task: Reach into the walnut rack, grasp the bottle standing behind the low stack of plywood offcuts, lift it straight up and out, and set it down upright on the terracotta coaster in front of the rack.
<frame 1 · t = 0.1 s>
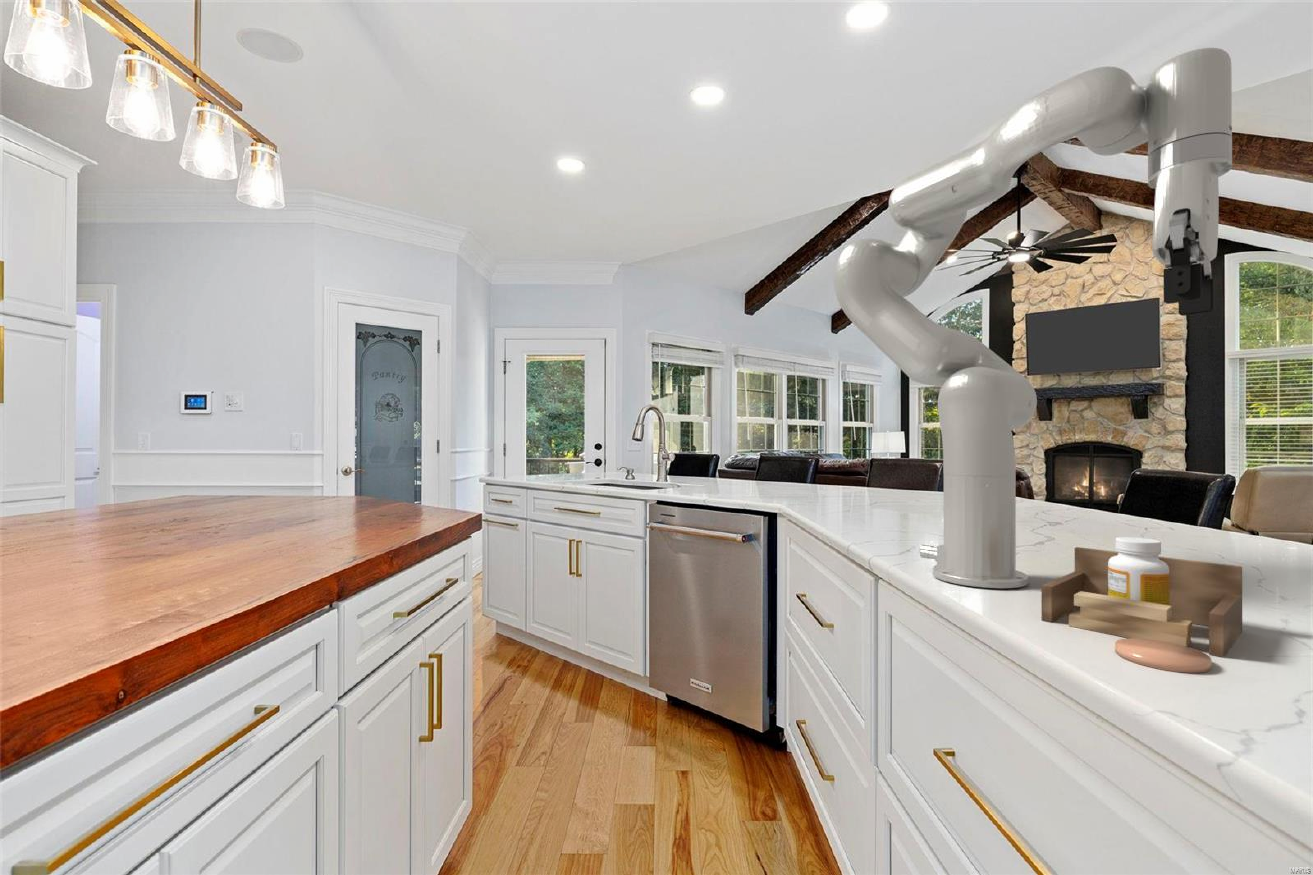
hand: (1189, 307, 72), 37 cm above the worktop, tool pointing down, fingers open, 9 cm apart
supplement bottle: (1138, 628, 68), resting in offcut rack
terracotta coaster: (1161, 658, 57), on the worktop
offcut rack: (1138, 626, 68), on the worktop
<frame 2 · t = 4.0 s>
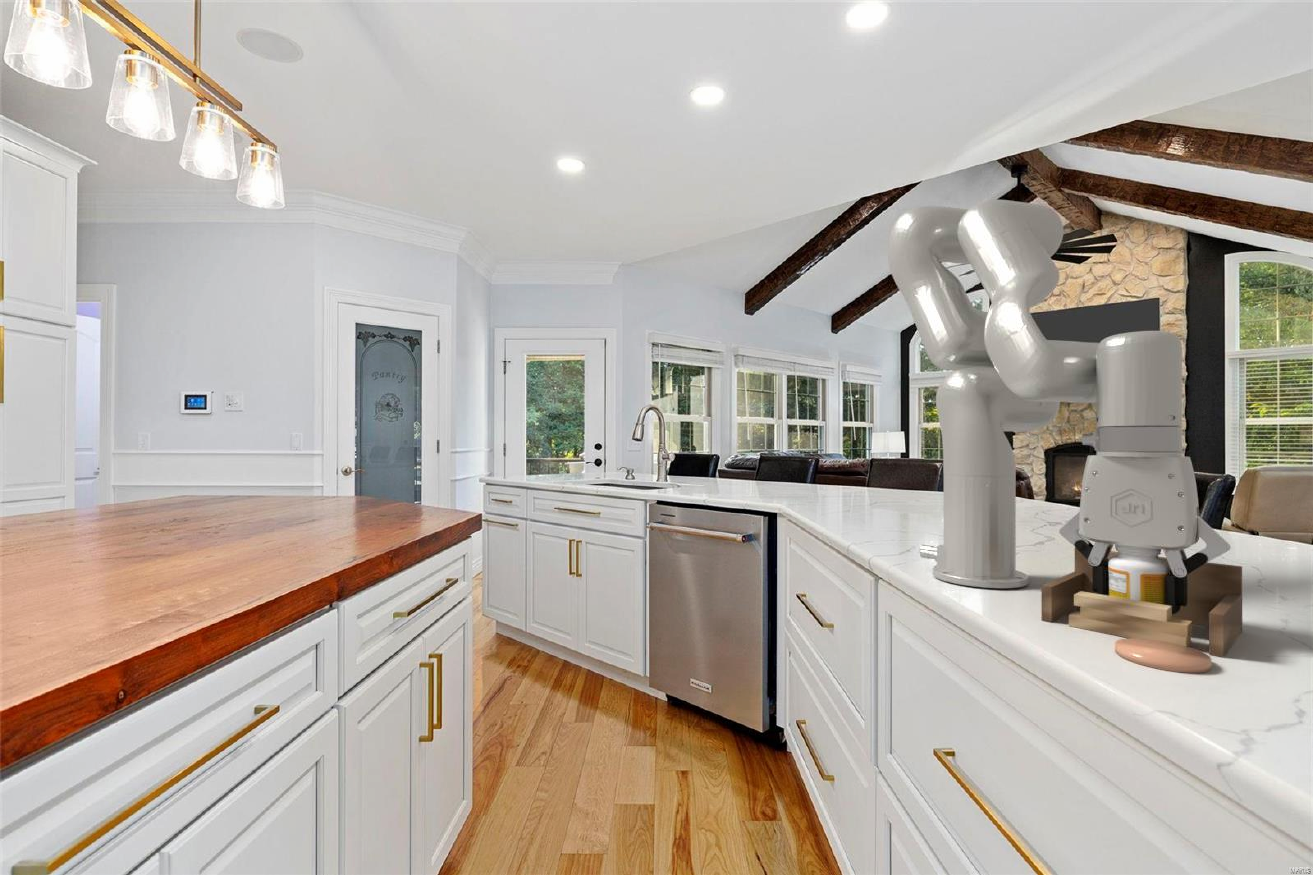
hand: (1138, 603, 68), 3 cm above the worktop, tool pointing down, fingers closed on supplement bottle, 5 cm apart
supplement bottle: (1138, 628, 68), resting in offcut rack, touching gripper
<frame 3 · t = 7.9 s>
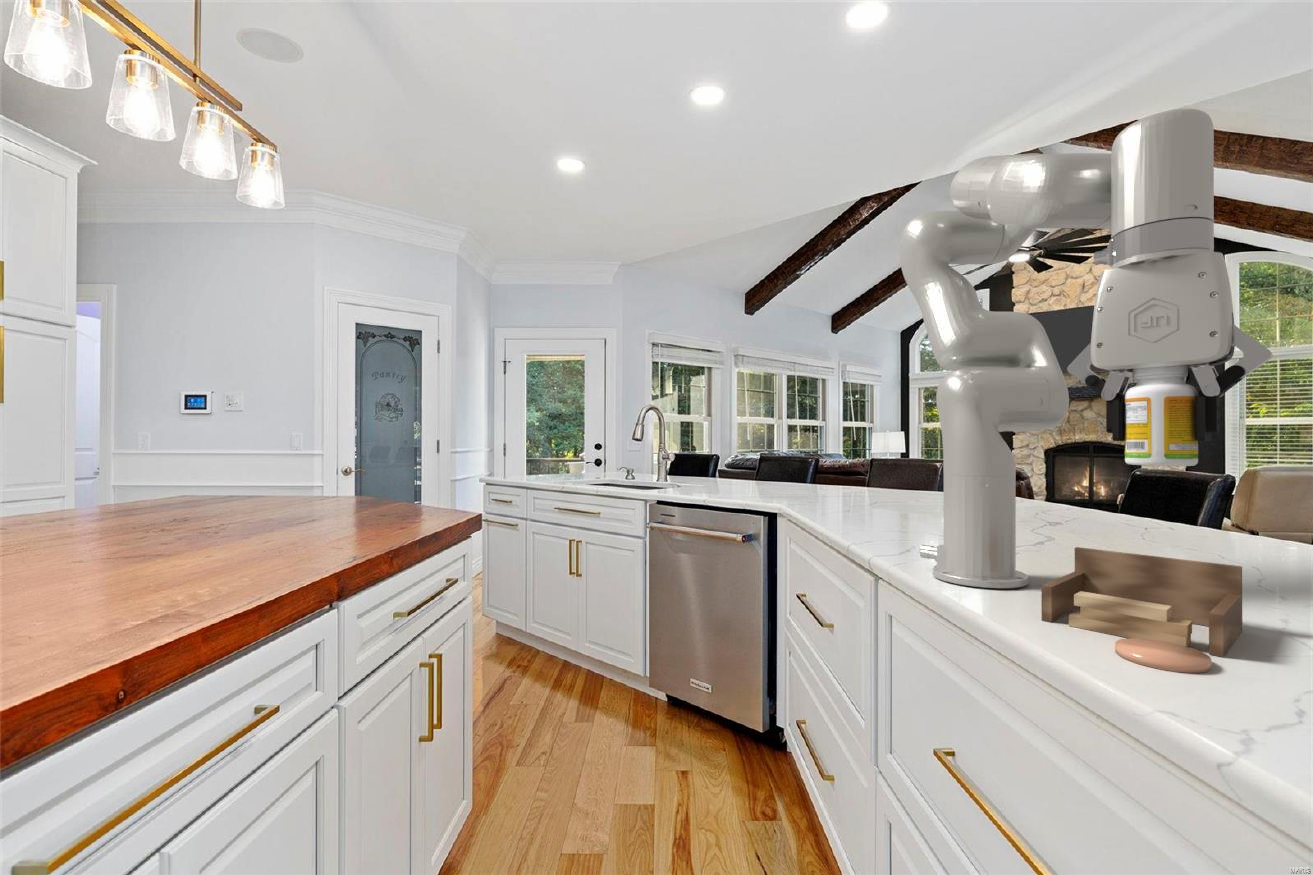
hand: (1160, 439, 58), 21 cm above the worktop, tool pointing down, fingers closed on supplement bottle, 5 cm apart
supplement bottle: (1160, 467, 58), point 18 cm above the worktop, touching gripper
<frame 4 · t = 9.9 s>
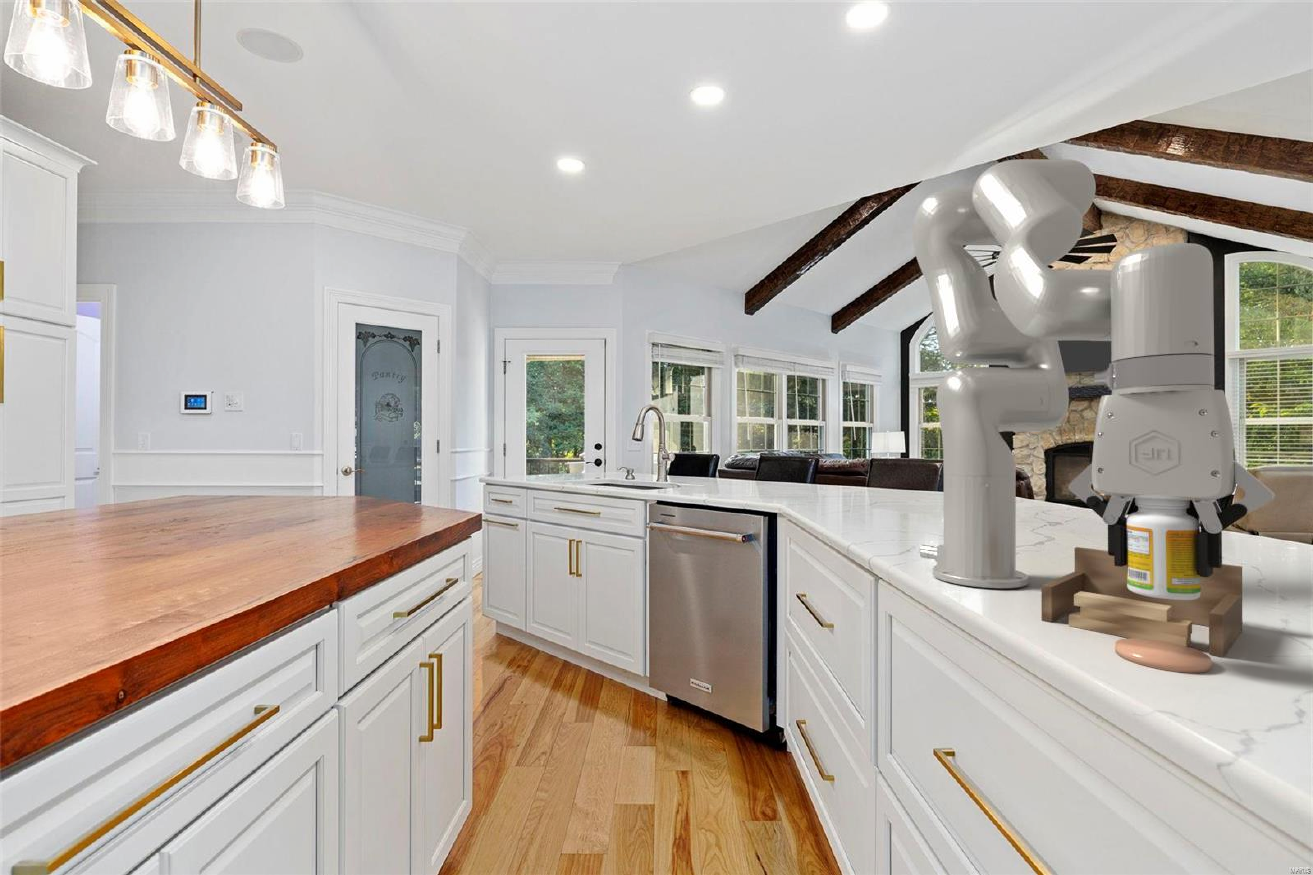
hand: (1162, 567, 57), 9 cm above the worktop, tool pointing down, fingers closed on supplement bottle, 5 cm apart
supplement bottle: (1162, 596, 57), point 6 cm above the worktop, touching gripper
when the fingers open (4 cm above the worktop, at t = 11.7 s): supplement bottle drops 1 cm, resting on terracotta coaster.
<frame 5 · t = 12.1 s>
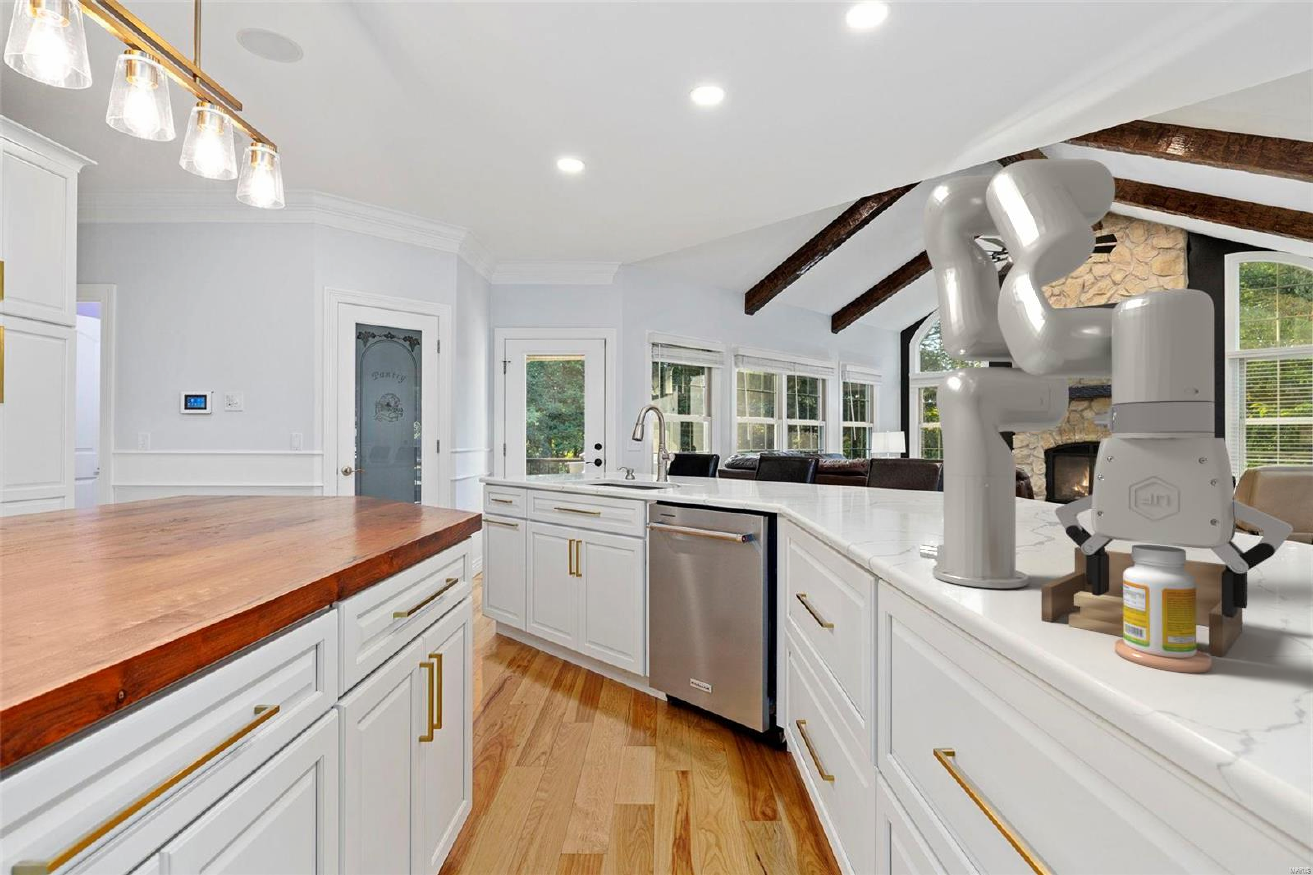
hand: (1161, 603, 58), 5 cm above the worktop, tool pointing down, fingers open, 9 cm apart
supplement bottle: (1158, 651, 58), point 1 cm above the worktop, touching terracotta coaster
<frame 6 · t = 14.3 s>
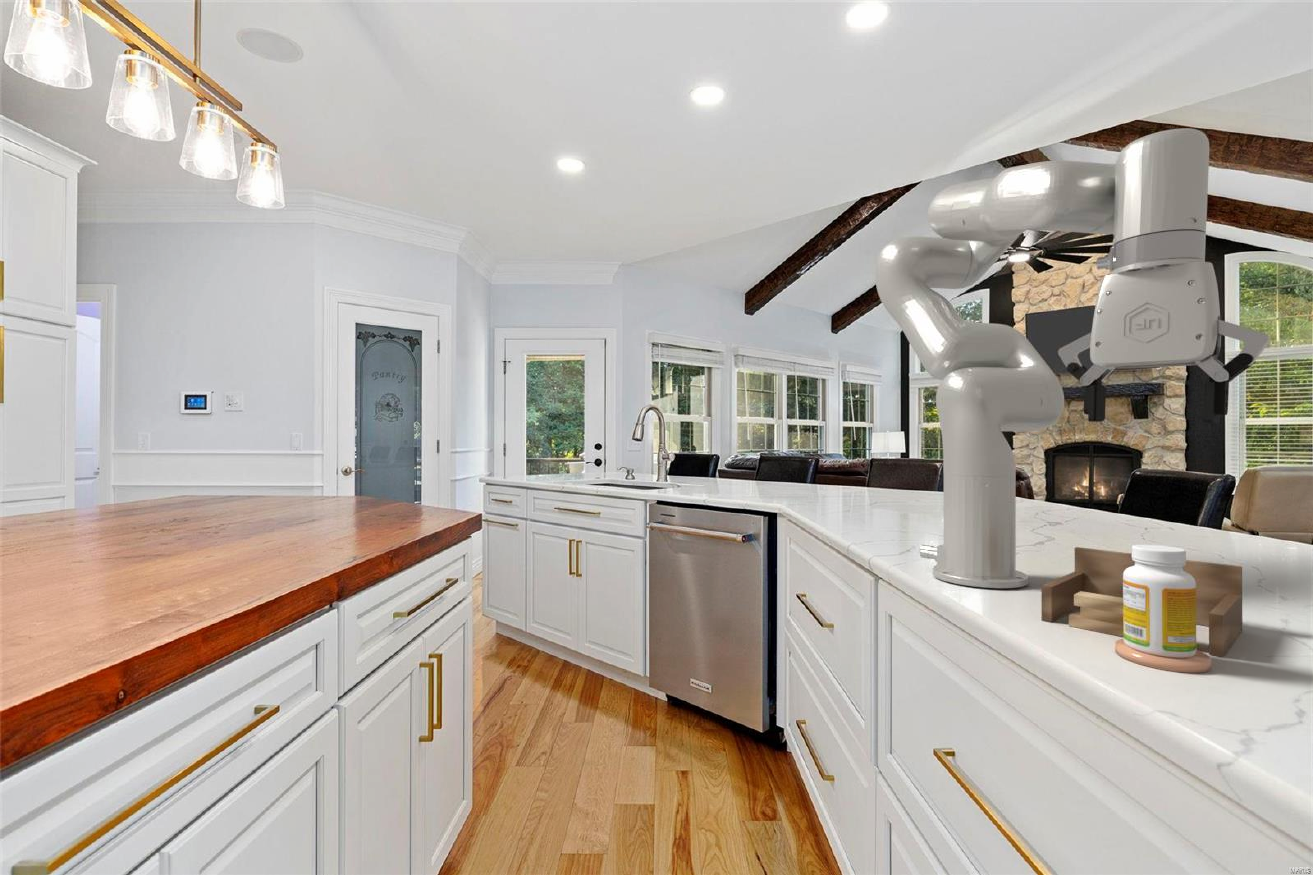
hand: (1150, 422, 64), 23 cm above the worktop, tool pointing down, fingers open, 9 cm apart
nothing on the worktop moved.
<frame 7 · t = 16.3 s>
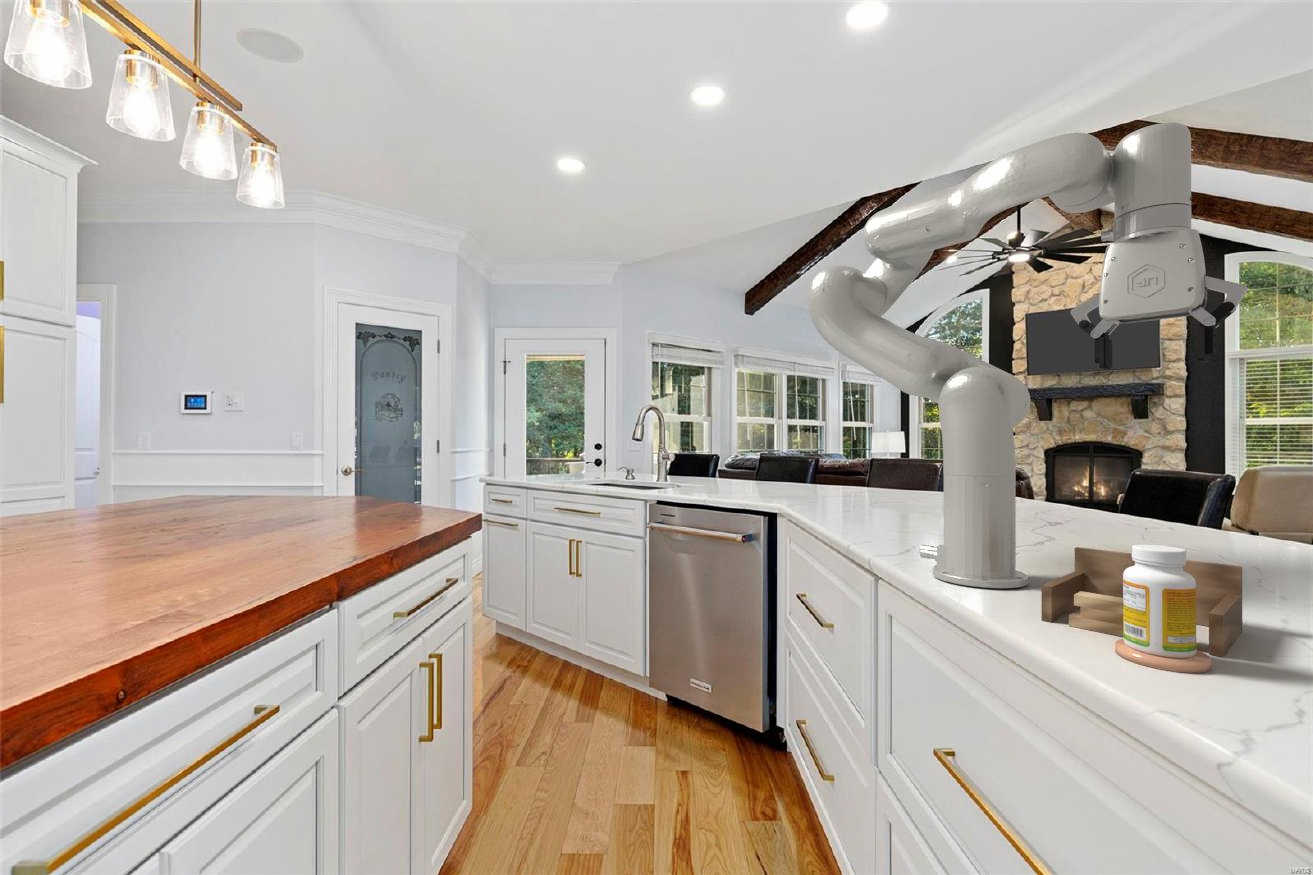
hand: (1151, 365, 76), 30 cm above the worktop, tool pointing down, fingers open, 9 cm apart
nothing on the worktop moved.
at the end: supplement bottle 0.2 cm off-centre on the terracotta coaster, point 0.6 cm above the terracotta coaster's base; supplement bottle tilted 0°; the gripper is holding nothing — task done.
